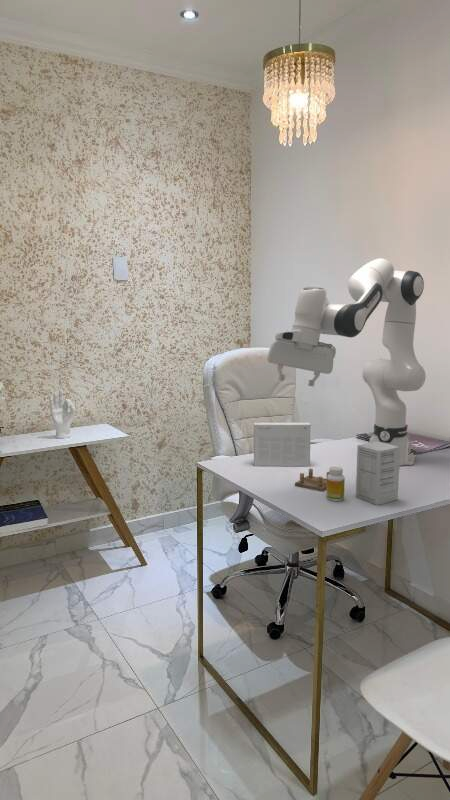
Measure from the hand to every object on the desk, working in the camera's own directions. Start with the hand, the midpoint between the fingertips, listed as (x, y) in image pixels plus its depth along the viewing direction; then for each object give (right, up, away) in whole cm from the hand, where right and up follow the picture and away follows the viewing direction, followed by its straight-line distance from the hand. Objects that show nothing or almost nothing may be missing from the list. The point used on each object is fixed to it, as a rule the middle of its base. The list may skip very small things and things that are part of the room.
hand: (296, 383), depth 171 cm
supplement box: (+25, -36, +2) cm, 44 cm away
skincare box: (-1, -30, +39) cm, 49 cm away
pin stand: (+8, -34, +15) cm, 38 cm away
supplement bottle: (+12, -36, +1) cm, 38 cm away
